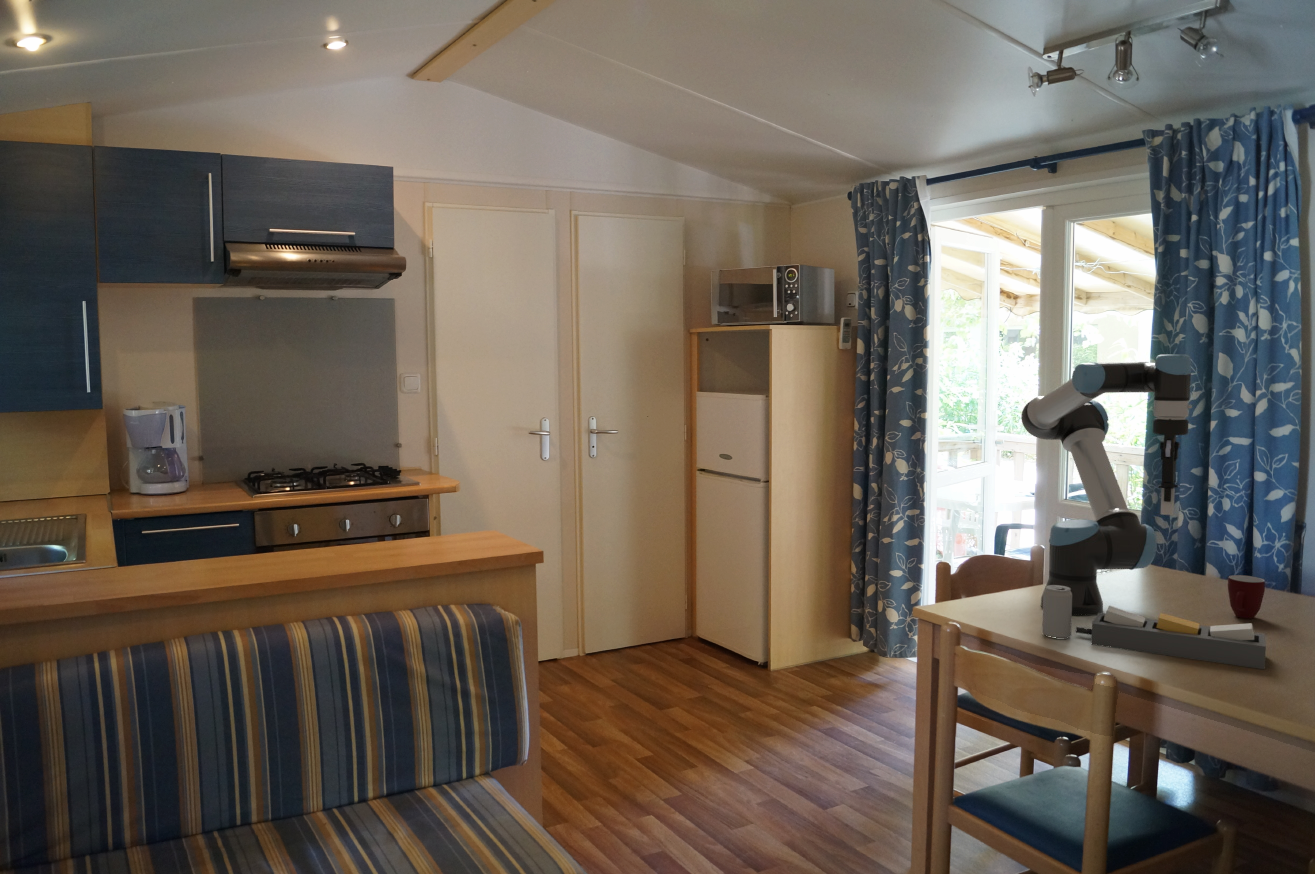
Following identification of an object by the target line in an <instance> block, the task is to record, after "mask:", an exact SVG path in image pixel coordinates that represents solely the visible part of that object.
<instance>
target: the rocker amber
mask: <svg viewBox="0 0 1315 874" xmlns="http://www.w3.org/2000/svg"><path fill="white" fill-rule="evenodd" d="M1157 620H1158V623H1157V627H1156V628H1159V629H1163V630H1167V631H1174V632H1182V633H1190V634H1197V633H1198V629H1199V625H1200V623H1198V622H1195V621H1192V620H1189V619H1184V618H1180V617H1178V616H1174V615H1170V614H1166V613H1163V612H1160V614H1159V616H1158V619H1157Z"/></svg>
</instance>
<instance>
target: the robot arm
mask: <svg viewBox="0 0 1315 874" xmlns="http://www.w3.org/2000/svg"><path fill="white" fill-rule="evenodd" d="M1191 359H1192V358H1191V356H1189V355H1188V354H1158V355H1157V356H1156V357H1155V362H1149V361H1139V362H1096V361H1094V362H1093V361H1090V362H1082V363H1078V364H1077V365H1076V366H1075V367H1074V370H1073V372H1072V377H1071V378H1070V379H1068V380H1066V381H1065V382H1064V383H1063V384H1061V385H1060V386H1058V387H1056V388H1055V389H1053V390H1052V391H1049V393H1047V394H1045V395H1042V396H1041V395H1039V396H1037V397H1035V398H1032V399H1031V400H1030V401H1029V402H1027V403H1026V404H1025V406H1024V407H1023V409H1022V411H1021V422H1022V426H1023V428H1024V429H1025V430H1026V432H1028V433H1029V434H1030V435H1031V436H1033V437H1035V438H1038V439H1041V440H1047V441H1048V440H1051V441H1054V440H1056V441H1057V440H1059V441H1060V442H1061V444H1062V447H1063V449H1064V450H1065V451H1066V452H1069V453H1071V455H1072V458H1073V461H1074V465H1075V467H1076V469H1077V472H1078V475H1079V478H1080V481H1081V483H1082V486H1083V488H1084V489H1083V490H1084V491H1085V494H1086V496H1087V500H1088V502H1089V505H1090V508H1091V510H1092V513H1093V517H1094V519H1095V520H1093V519H1086V518H1085V519H1069V520H1068V519H1067V520H1062V521H1059V522H1057V523H1055V524H1053V525H1052V526H1051V527H1050V534H1049V538H1048V539H1049V540H1048V542H1049V553H1048V554H1049V555H1048V556H1049V558H1048V559H1049V561H1048V578H1047V581H1046V584H1045V586H1048V585H1060V586H1066V587H1069V588H1070V589H1071V590H1070V591H1071V593H1072V616H1097V614H1098V612H1099V613H1104V612H1103V611H1104V602H1103V599H1102V596H1101V593H1100V589H1099V586H1098V582H1097V580H1098V579H1097V575H1098V570H1131V571H1132V570H1136V569H1144V568H1147V567H1148V566H1150V565H1151V564H1152V562H1153V561H1154V559H1155V557H1156V554H1157V553H1156V552H1157V548H1158V547H1157V545H1158V543H1157V542H1158V541H1157V534H1156V532H1155V529H1153V527H1152V526H1150V525H1149V524H1146V523H1144V524H1141V522H1140V519H1139V517H1138V515H1137V514H1136V513H1135V512H1134V511H1130V510H1129V508H1128V505H1127V503H1126V500H1125V498H1124V496H1123V492H1122V490H1121V487H1120V485H1119V482H1118V480H1117V477H1116V474H1115V472H1114V470H1113V467H1112V464H1111V462H1110V459H1109V457H1108V454H1107V452H1106V449H1105V446H1104V443H1103V442H1104V441H1105V440H1106V436H1107V433H1108V431H1109V426H1110V425H1109V424H1110V423H1108V421H1109V416H1108V413H1107V410H1106V408H1105V407H1104V406H1103V405H1102V404H1101V403H1100V402H1099V401H1096V400H1094V399H1096V398H1098V397H1099V396H1101V395H1103V394H1107V393H1108V394H1109V393H1110V394H1111V393H1154V394H1153V395H1154V396H1153V397H1154V398H1153V412H1152V413H1153V414H1152V415H1153V416H1154V417H1155V418H1154V419H1153V420H1152V422H1153V424H1152V433H1153V434H1154V435H1163V440H1161V441H1160V443H1159V448H1160V460H1161V483H1160V484H1158V488H1159V489H1161V493H1160V494H1161V495H1160V515H1162V516H1163V515H1165V516H1174V513H1175V489H1177V488H1178V487H1179V486H1178V484H1176V469H1177V467H1176V465H1177V460H1178V457H1179V449H1180V441H1177V436H1187V435H1188V433H1189V425H1190V424H1189V420H1188V419H1186V418H1188V417H1189V412H1190V410H1189V409H1193V405H1192V404H1189V403H1190V395H1191V392H1190V391H1191V379H1192V369H1191V367H1192V363H1191ZM1044 590H1045V588H1044V589H1043V591H1044ZM1041 605H1042V606H1041ZM1040 606H1041V608H1043V593H1042V595H1041V597H1040Z"/></svg>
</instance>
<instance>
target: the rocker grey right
mask: <svg viewBox="0 0 1315 874" xmlns="http://www.w3.org/2000/svg"><path fill="white" fill-rule="evenodd" d="M1210 627H1211V628H1210V634H1211V636H1212V637H1220V638H1227V639H1235V640H1254V632H1255V631H1254V627H1253V623H1249V622H1248V623H1239V624H1238V623H1234V624H1223V625H1222V624H1221V625H1219V624H1218V625H1210Z"/></svg>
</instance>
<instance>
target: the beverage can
mask: <svg viewBox="0 0 1315 874" xmlns="http://www.w3.org/2000/svg"><path fill="white" fill-rule="evenodd" d="M1044 589H1045V590H1044ZM1044 589H1043V591H1042V594H1043V607H1042V624H1041V625H1042V628H1041V633H1042V634H1043V635H1047V636H1051V637H1056V638H1067V637H1068V638H1069V637H1071V636H1072V616H1073V615H1072V593H1071V591H1070V590H1071V589H1070V588H1069V587H1066V586H1060V585H1048V586H1046V585H1044ZM1068 638H1067V639H1068Z"/></svg>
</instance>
